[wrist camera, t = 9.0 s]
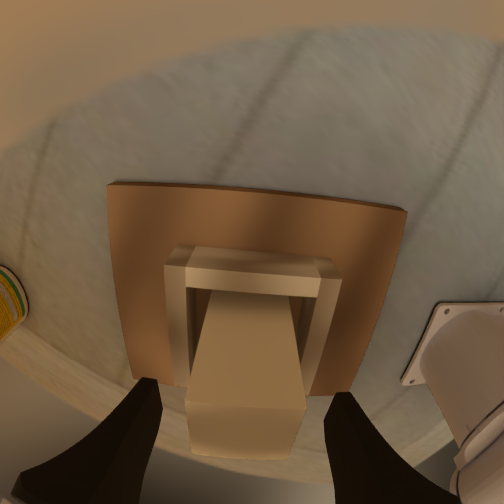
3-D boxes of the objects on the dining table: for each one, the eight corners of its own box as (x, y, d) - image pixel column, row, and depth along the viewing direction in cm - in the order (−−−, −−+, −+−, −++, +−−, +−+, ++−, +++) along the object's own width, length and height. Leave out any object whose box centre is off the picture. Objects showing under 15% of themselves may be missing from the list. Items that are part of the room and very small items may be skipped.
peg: (286, 289, 16) (306, 408, 9) (277, 345, 18) (286, 459, 10) (213, 284, 16) (184, 400, 9) (212, 340, 17) (192, 453, 10)
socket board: (399, 207, 15) (430, 226, 12) (344, 385, 20) (353, 419, 17) (114, 181, 15) (82, 195, 12) (137, 369, 20) (123, 402, 17)
